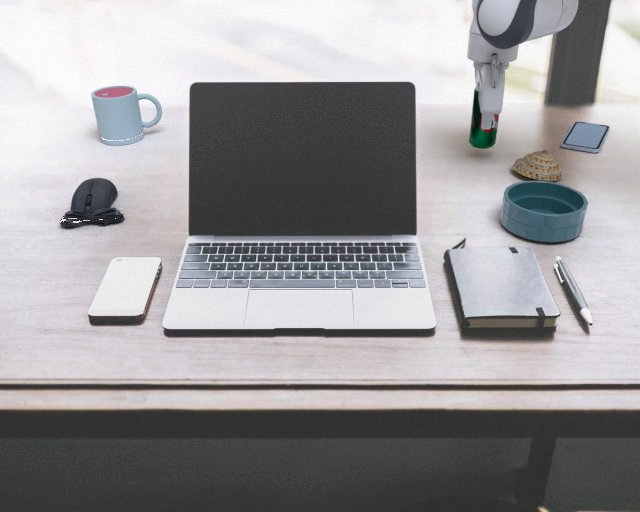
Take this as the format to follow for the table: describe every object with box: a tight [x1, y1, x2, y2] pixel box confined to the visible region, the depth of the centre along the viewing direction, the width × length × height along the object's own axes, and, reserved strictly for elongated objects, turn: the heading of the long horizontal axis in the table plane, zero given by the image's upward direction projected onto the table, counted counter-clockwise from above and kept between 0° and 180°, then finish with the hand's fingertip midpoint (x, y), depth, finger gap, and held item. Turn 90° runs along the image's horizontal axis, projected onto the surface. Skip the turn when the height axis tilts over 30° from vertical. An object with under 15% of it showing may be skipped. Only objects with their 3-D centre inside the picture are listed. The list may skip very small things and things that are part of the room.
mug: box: [90, 85, 163, 147], centre depth 132 cm, size 14×9×10 cm
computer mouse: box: [59, 177, 125, 228], centre depth 104 cm, size 10×15×4 cm
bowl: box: [499, 180, 589, 244], centre depth 96 cm, size 12×12×5 cm
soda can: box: [468, 82, 500, 150], centre depth 118 cm, size 5×5×12 cm
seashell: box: [511, 149, 563, 182], centre depth 113 cm, size 8×6×8 cm
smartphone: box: [560, 121, 611, 154], centre depth 129 cm, size 7×1×15 cm
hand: (484, 122), depth 118 cm, fingers closed on soda can, 5 cm apart
